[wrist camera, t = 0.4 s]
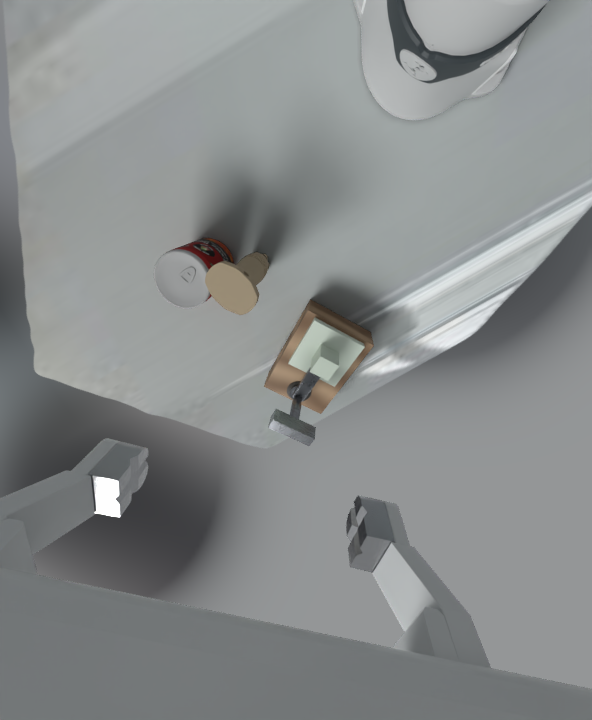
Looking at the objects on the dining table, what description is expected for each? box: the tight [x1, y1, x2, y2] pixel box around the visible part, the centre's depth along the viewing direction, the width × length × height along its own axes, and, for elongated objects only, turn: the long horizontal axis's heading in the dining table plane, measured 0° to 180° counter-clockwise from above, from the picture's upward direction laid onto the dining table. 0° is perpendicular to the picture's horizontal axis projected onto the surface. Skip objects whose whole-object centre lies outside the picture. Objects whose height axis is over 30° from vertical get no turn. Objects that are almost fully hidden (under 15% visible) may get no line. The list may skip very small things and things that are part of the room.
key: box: [268, 368, 320, 446], centre depth 46 cm, size 8×7×10 cm
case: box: [264, 299, 374, 414], centre depth 51 cm, size 17×12×5 cm
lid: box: [288, 318, 365, 387], centre depth 45 cm, size 9×9×5 cm
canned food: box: [154, 238, 234, 309], centre depth 42 cm, size 8×8×11 cm
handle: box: [205, 252, 270, 315], centre depth 40 cm, size 5×6×15 cm
